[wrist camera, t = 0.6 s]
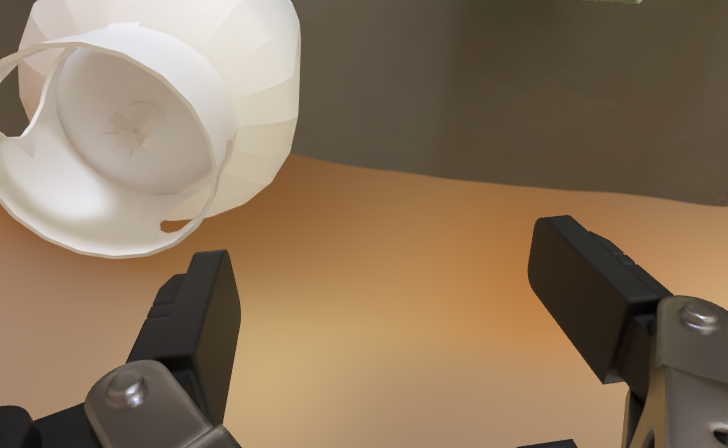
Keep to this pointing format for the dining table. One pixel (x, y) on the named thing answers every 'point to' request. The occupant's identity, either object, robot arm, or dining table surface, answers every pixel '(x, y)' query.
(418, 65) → the dining table surface
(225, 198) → the bottle
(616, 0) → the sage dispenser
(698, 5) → the dining table surface
